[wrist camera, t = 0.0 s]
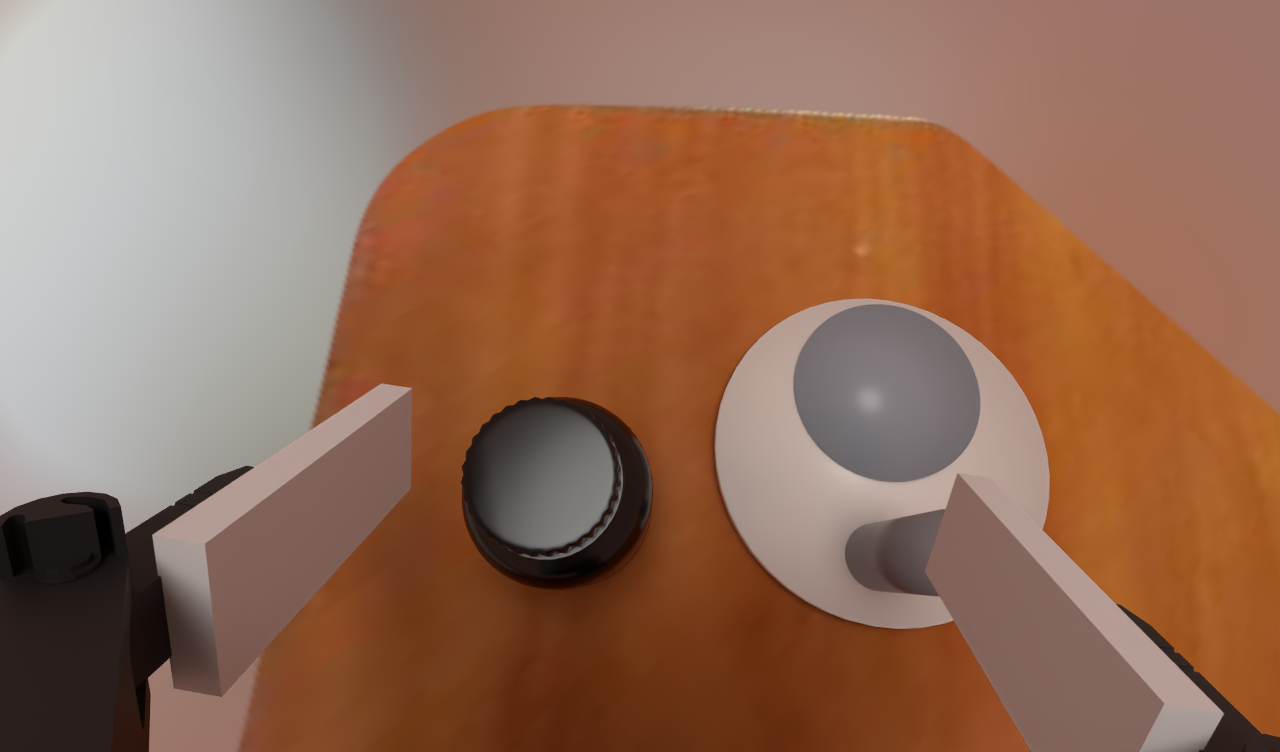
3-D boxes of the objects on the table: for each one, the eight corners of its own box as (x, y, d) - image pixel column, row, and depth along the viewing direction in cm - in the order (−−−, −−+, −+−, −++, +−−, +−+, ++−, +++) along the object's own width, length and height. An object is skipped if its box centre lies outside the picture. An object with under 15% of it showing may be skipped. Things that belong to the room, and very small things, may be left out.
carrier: (1043, 653, 28) (1198, 685, 20) (694, 596, 28) (716, 605, 21) (1030, 330, 33) (1151, 256, 25) (731, 286, 33) (761, 202, 26)
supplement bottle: (612, 418, 31) (599, 328, 19) (674, 543, 29) (700, 526, 18) (486, 478, 30) (394, 421, 19) (541, 612, 28) (478, 640, 17)
